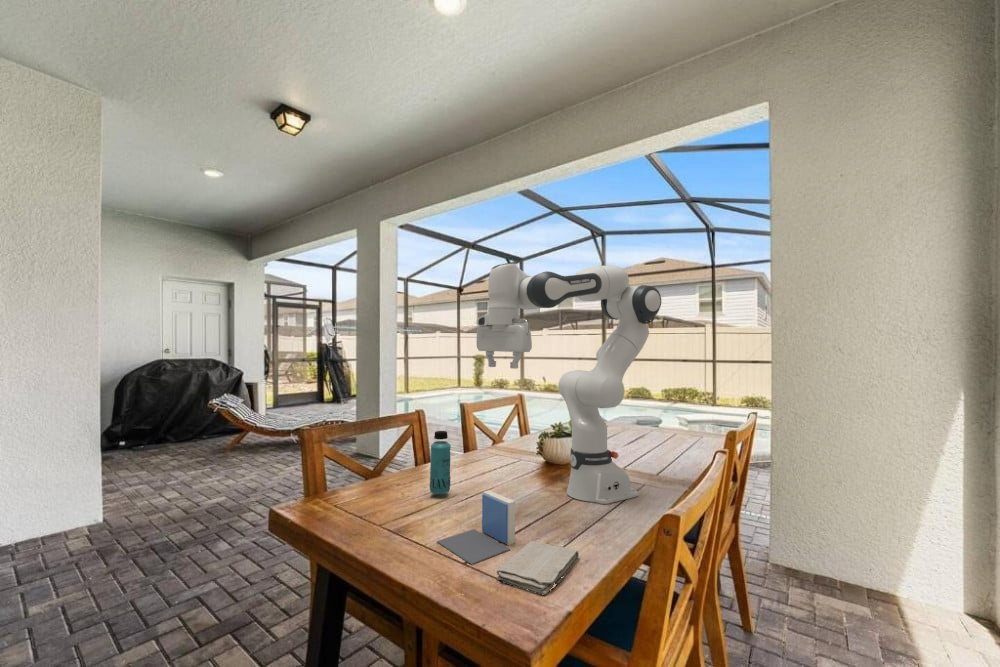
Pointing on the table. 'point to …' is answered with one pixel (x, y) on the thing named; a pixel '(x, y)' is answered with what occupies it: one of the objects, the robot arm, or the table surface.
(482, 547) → the mat
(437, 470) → the beverage bottle
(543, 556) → the washcloth
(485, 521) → the tile
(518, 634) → the table surface
